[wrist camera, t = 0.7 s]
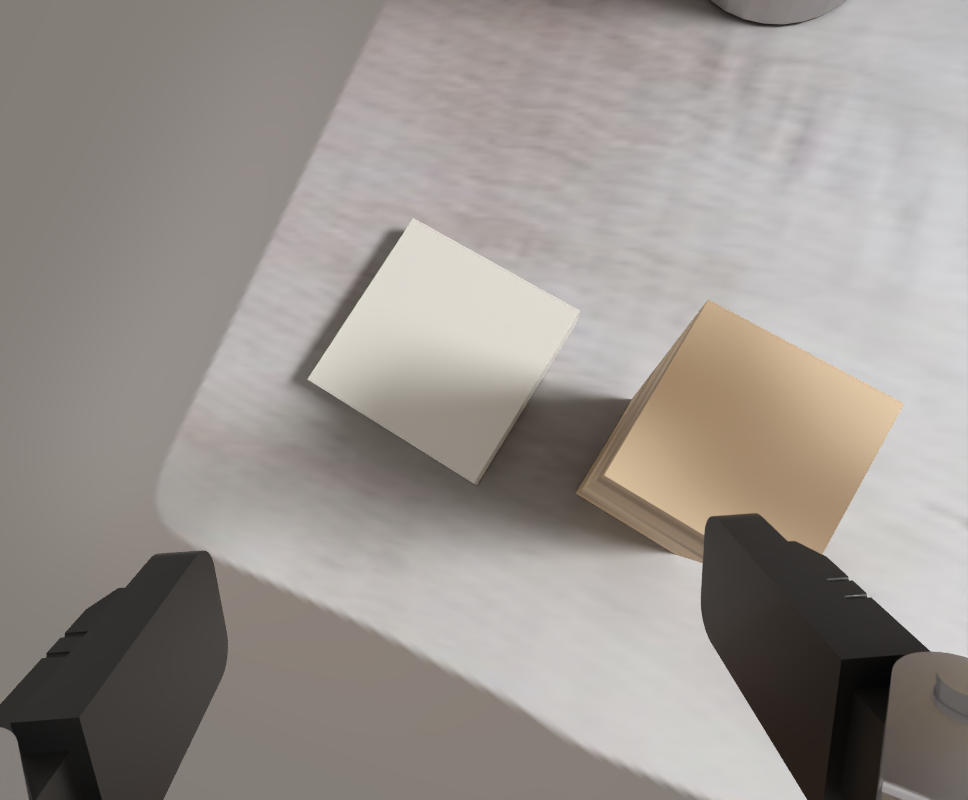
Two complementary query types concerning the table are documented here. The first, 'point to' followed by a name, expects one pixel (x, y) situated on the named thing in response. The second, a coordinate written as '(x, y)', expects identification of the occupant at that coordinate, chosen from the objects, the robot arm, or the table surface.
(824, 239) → the table surface
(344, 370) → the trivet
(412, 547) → the table surface
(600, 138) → the table surface
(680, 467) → the oak block
